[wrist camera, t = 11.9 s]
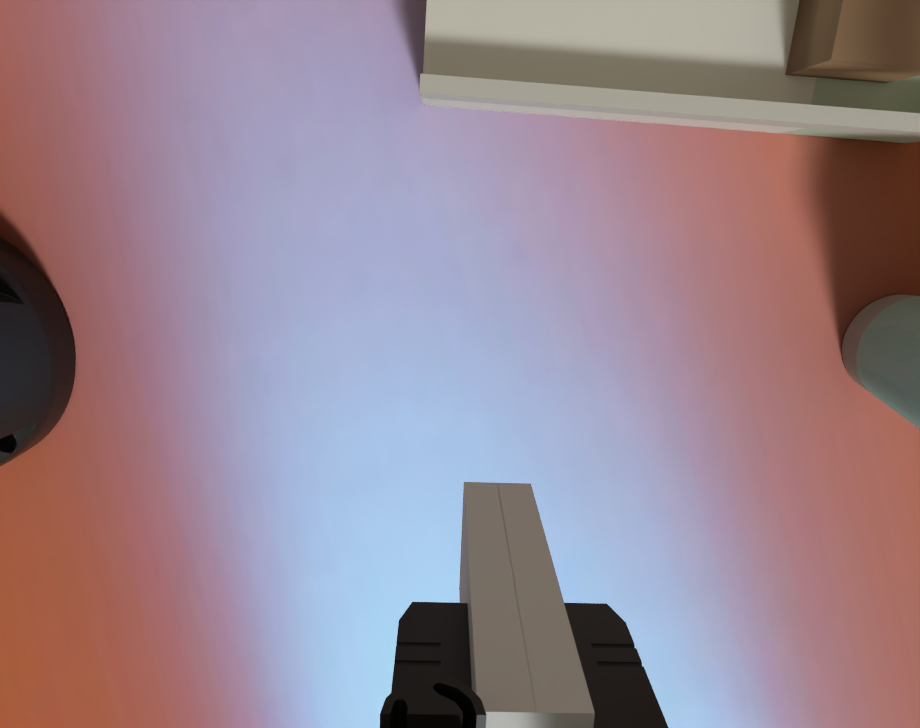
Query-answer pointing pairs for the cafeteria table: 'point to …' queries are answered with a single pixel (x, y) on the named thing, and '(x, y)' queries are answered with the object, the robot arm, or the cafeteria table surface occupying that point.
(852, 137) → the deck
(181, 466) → the cafeteria table surface
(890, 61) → the block
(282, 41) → the cafeteria table surface
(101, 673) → the cafeteria table surface
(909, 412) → the coffee cup
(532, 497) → the robot arm
